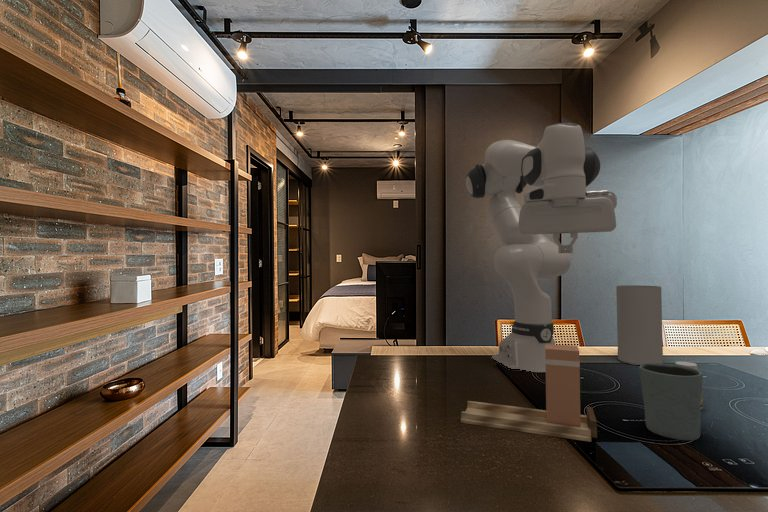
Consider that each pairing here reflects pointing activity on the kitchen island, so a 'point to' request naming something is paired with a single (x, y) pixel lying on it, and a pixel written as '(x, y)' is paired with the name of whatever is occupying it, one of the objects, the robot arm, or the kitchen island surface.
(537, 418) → the chute
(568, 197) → the robot arm
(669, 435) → the green cup
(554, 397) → the block
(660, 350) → the cylinder vase
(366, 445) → the kitchen island surface
